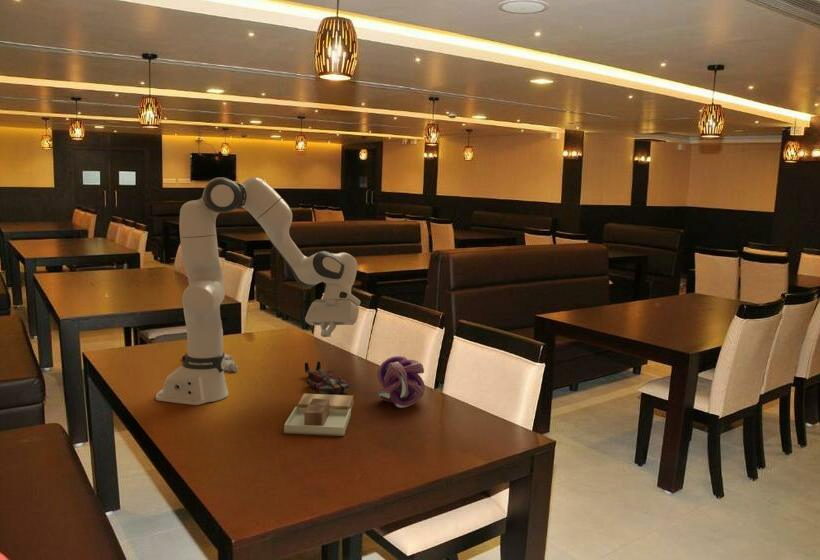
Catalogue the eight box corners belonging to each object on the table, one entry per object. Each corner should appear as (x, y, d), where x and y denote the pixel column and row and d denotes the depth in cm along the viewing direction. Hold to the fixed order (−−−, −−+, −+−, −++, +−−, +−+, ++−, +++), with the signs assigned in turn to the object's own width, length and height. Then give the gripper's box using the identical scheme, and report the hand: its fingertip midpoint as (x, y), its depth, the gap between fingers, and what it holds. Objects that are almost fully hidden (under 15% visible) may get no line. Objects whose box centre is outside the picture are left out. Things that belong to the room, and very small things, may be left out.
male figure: (212, 333, 250) (247, 349, 233) (212, 357, 251) (246, 374, 235) (186, 337, 241) (221, 354, 225) (186, 361, 243) (220, 380, 227)
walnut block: (312, 414, 191) (304, 429, 179) (312, 398, 190) (304, 412, 178) (328, 414, 190) (321, 429, 179) (329, 399, 190) (321, 413, 178)
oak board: (297, 413, 192) (297, 404, 192) (304, 402, 202) (304, 393, 202) (349, 415, 192) (349, 406, 191) (353, 404, 202) (353, 395, 201)
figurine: (328, 360, 233) (358, 382, 206) (328, 375, 234) (357, 399, 207) (295, 363, 227) (321, 387, 201) (295, 378, 228) (321, 404, 201)
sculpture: (425, 418, 198) (433, 379, 215) (412, 377, 191) (421, 340, 208) (379, 422, 202) (390, 384, 219) (364, 382, 195) (378, 345, 212)
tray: (284, 433, 177) (284, 424, 176) (295, 413, 192) (296, 405, 192) (343, 436, 176) (343, 427, 176) (350, 416, 192) (350, 408, 191)
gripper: (307, 295, 215) (296, 332, 209) (353, 293, 204) (342, 332, 198) (319, 303, 220) (308, 339, 214) (364, 301, 208) (354, 340, 203)
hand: (325, 336), depth 206 cm, fingers closed
